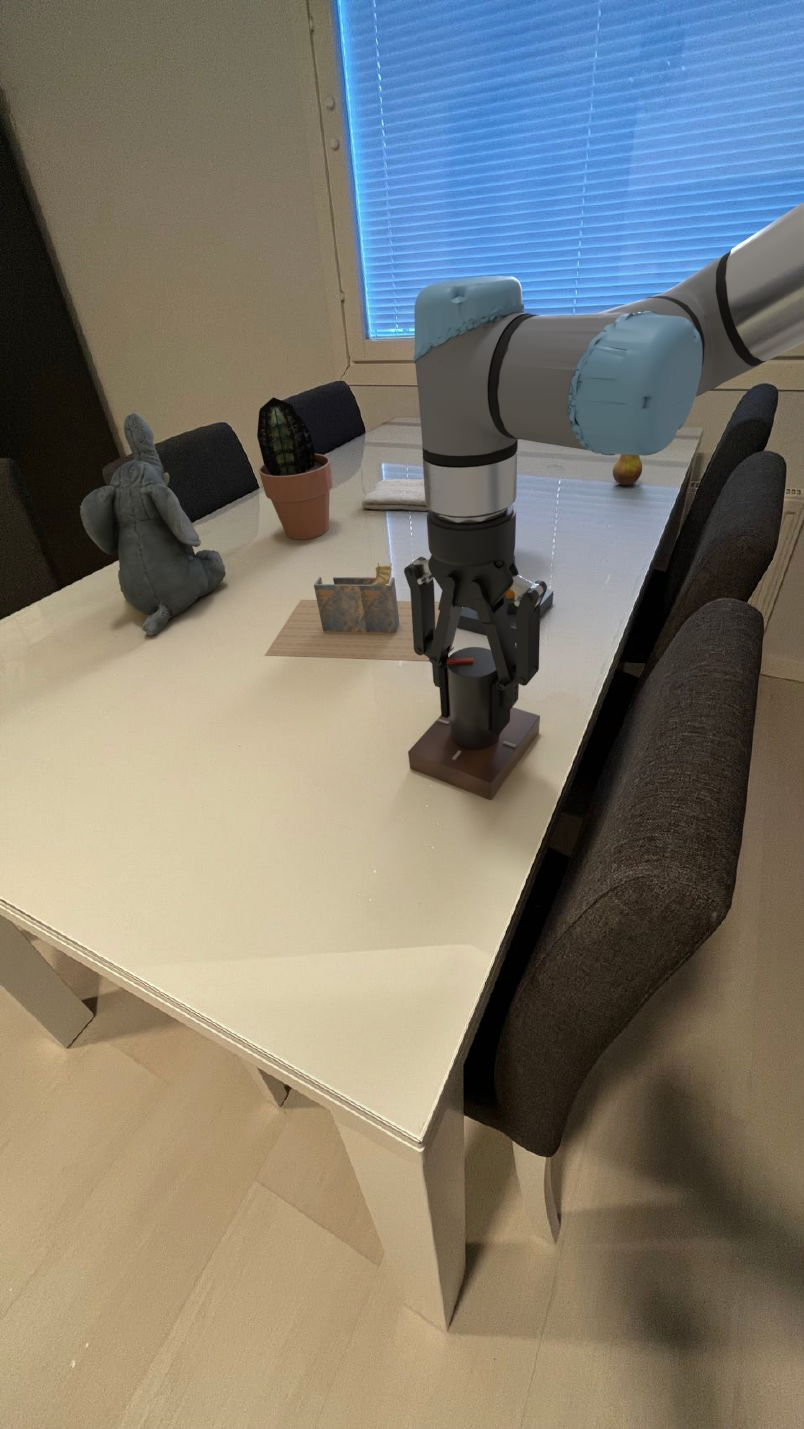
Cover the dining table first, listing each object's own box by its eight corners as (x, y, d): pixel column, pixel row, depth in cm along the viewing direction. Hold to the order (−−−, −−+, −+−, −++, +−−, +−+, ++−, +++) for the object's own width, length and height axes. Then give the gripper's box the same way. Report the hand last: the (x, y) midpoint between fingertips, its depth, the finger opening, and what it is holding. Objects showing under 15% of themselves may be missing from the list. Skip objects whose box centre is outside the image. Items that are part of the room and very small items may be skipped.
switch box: (552, 604, 91) (554, 580, 89) (518, 643, 84) (519, 618, 81) (493, 591, 96) (493, 568, 93) (455, 627, 88) (454, 603, 86)
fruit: (617, 478, 130) (625, 417, 122) (644, 481, 126) (653, 420, 119) (606, 486, 126) (614, 424, 119) (633, 490, 123) (642, 427, 116)
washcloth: (442, 512, 123) (441, 497, 122) (360, 511, 128) (358, 496, 126) (454, 492, 132) (454, 477, 130) (377, 491, 137) (376, 477, 135)
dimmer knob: (498, 716, 68) (499, 642, 62) (501, 748, 64) (503, 673, 58) (450, 718, 69) (446, 645, 62) (450, 750, 64) (446, 675, 58)
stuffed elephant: (188, 562, 116) (136, 409, 99) (251, 591, 104) (204, 422, 87) (94, 603, 106) (17, 440, 89) (151, 640, 94) (75, 460, 77)
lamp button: (524, 590, 88) (524, 579, 87) (512, 602, 85) (512, 591, 84) (499, 585, 90) (499, 574, 89) (486, 597, 87) (486, 586, 86)
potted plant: (351, 532, 120) (330, 393, 104) (287, 551, 116) (255, 409, 100) (325, 512, 130) (302, 383, 114) (265, 529, 125) (233, 397, 110)
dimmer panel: (539, 732, 69) (540, 714, 67) (491, 800, 62) (491, 782, 60) (462, 707, 74) (461, 690, 72) (409, 768, 66) (407, 750, 65)
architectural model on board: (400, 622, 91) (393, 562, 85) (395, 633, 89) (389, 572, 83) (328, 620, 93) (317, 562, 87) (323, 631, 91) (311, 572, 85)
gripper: (595, 504, 48) (570, 724, 63) (404, 479, 57) (422, 677, 72) (557, 540, 44) (540, 769, 58) (356, 507, 52) (385, 713, 67)
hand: (475, 718), depth 65 cm, fingers closed on dimmer knob, 5 cm apart
